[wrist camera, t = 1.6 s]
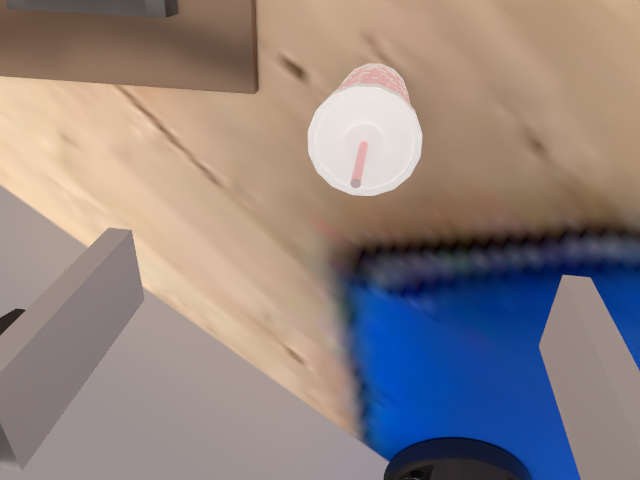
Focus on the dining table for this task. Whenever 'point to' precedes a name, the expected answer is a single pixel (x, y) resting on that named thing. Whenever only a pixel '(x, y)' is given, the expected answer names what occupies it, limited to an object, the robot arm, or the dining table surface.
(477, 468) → the robot arm
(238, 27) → the cup holder
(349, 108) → the beverage cup
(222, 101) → the dining table surface
